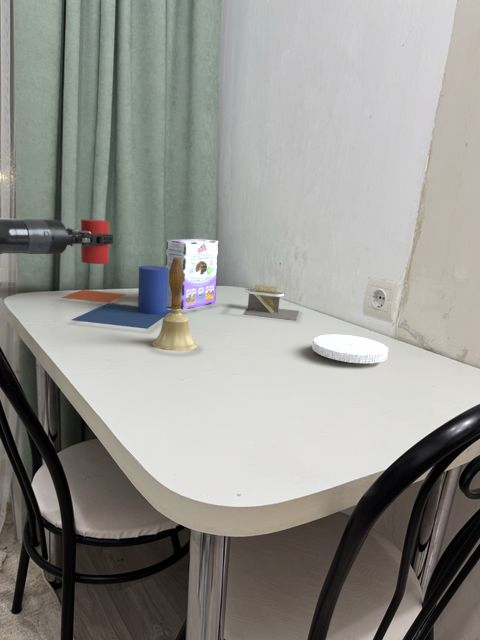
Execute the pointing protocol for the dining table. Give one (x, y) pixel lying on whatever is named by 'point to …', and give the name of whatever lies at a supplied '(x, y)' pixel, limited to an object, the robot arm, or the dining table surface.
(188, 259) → the candy box
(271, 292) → the platform
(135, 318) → the blue mat
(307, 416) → the dining table surface
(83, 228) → the red cylinder
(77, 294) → the red mat
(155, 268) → the blue cylinder
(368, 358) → the plastic lid
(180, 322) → the hand bell
